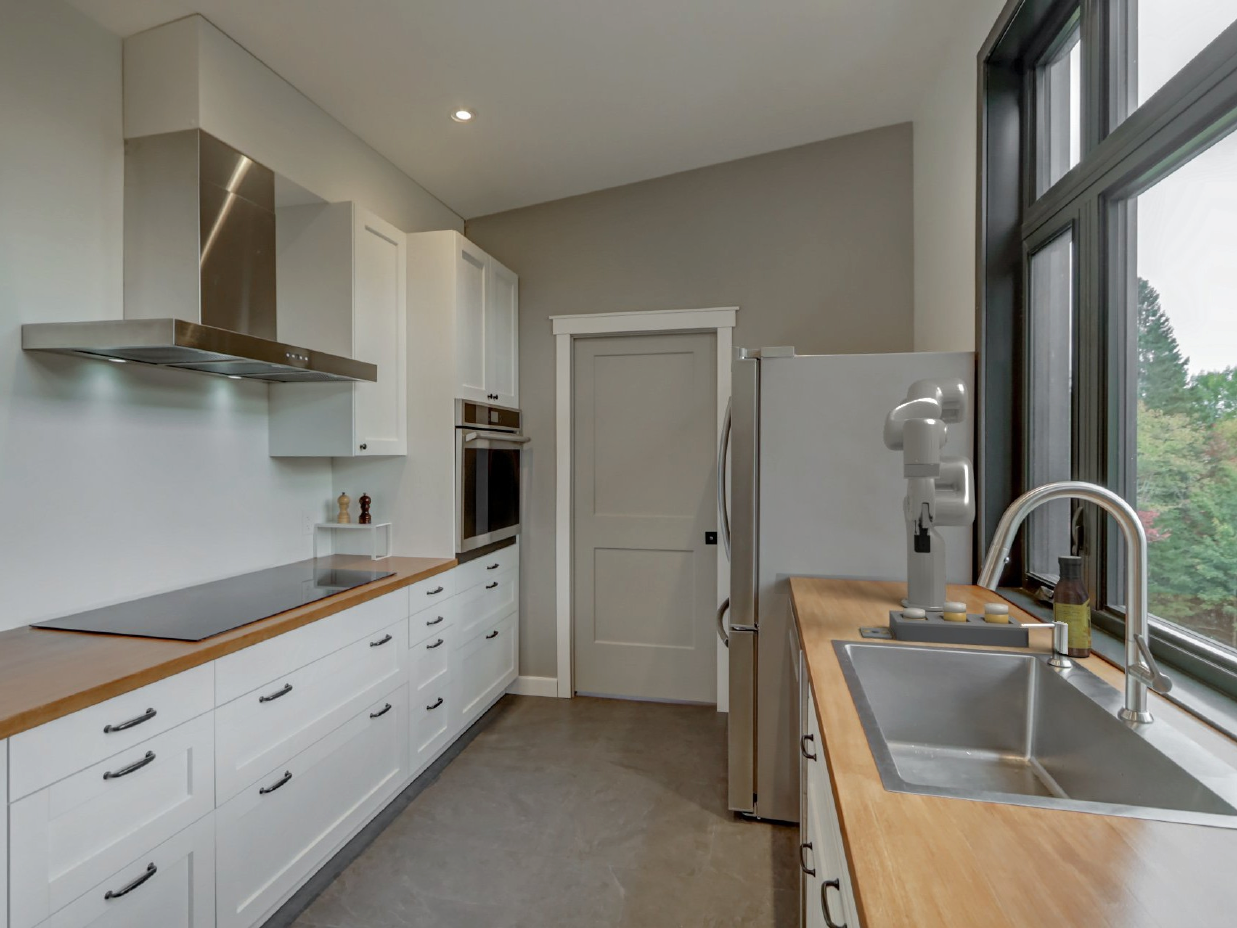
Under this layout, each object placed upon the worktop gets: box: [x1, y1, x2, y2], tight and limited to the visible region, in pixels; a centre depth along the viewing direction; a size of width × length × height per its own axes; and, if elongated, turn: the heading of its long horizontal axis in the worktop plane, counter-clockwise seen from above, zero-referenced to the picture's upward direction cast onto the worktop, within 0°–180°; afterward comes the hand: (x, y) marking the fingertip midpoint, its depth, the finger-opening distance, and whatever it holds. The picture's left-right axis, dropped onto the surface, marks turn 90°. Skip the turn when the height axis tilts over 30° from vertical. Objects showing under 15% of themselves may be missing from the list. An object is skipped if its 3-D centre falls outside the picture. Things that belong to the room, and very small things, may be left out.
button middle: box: [942, 601, 967, 622], centre depth 149 cm, size 5×5×6 cm
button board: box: [888, 609, 1030, 648], centre depth 149 cm, size 12×26×4 cm, turn 75°
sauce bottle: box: [1052, 555, 1092, 658], centre depth 135 cm, size 6×6×20 cm
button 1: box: [902, 607, 926, 620], centre depth 151 cm, size 5×5×6 cm
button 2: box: [984, 602, 1009, 624], centre depth 147 cm, size 5×5×6 cm
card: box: [859, 626, 893, 640], centre depth 152 cm, size 8×6×1 cm
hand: (922, 552), depth 151 cm, fingers closed
